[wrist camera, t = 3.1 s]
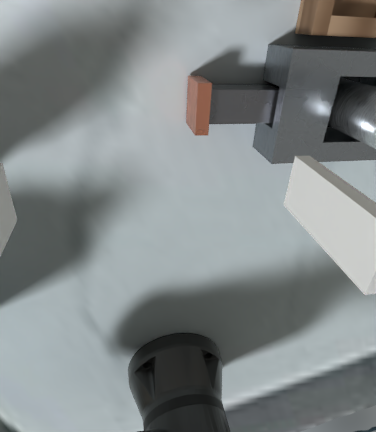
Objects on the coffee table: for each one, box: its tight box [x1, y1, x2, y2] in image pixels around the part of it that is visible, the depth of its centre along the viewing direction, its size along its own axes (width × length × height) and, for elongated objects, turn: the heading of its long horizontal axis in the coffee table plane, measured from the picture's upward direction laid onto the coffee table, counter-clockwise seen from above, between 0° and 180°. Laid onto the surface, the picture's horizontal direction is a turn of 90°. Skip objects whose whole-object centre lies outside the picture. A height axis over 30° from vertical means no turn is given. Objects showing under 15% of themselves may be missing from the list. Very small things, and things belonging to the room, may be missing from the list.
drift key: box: [186, 76, 279, 135], centre depth 30 cm, size 8×4×4 cm, turn 88°
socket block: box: [253, 45, 376, 164], centre depth 32 cm, size 14×10×5 cm
